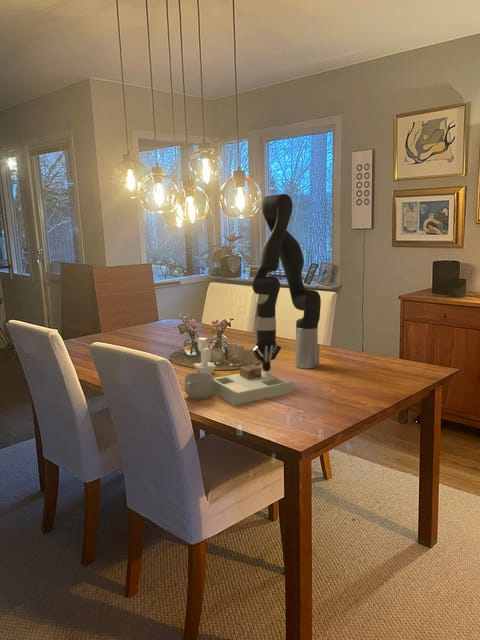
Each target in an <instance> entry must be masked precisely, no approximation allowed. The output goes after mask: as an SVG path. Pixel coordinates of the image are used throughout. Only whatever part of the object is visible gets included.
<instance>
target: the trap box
mask: <svg viewBox="0 0 480 640" xmlns="http://www.w3.org/2000/svg"><path fill="white" fill-rule="evenodd" d="M293 387H294V386H293V381H292V380H291V381H285V380H283V379H281V378H278V377H276V376H274V375H271V374H269V373H268V372H266V371H264V370H261V377H259V378H254V379H246V378H244V377H242V376H240V373H236V374H235V373H234V374H231V375H230V374H229V375H225V376H220V377H215V379H214V390H213V393H212V394H215V395H216V396H218V397H219V398H220V399H223V400H225V401H226V402H228V403H230V404H231V405H233V406H238V405H243V404H246V403H250V402H257V401H260V400H265V399H269V398H275V397H278V396H283V395H288V394H293V390H294V389H293Z"/></svg>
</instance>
